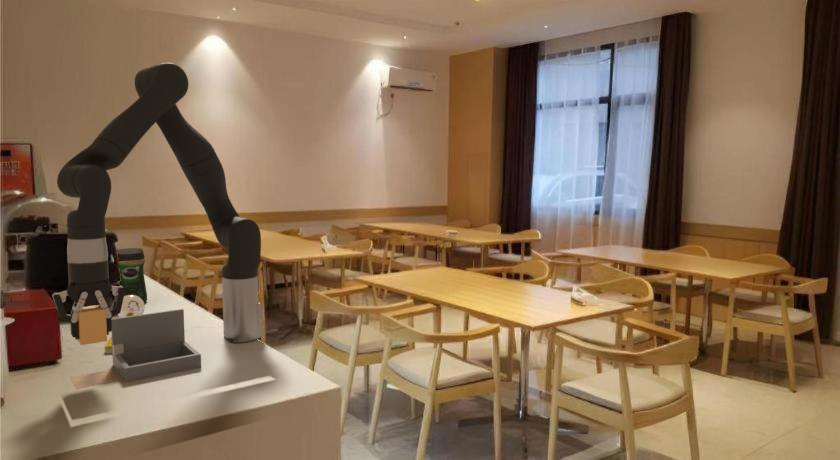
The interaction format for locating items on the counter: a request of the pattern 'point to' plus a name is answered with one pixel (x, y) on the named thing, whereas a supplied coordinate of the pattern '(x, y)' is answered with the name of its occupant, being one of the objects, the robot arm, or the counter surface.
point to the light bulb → (132, 306)
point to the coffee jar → (132, 272)
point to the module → (92, 325)
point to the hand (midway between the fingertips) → (91, 336)
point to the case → (151, 345)
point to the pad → (94, 379)
